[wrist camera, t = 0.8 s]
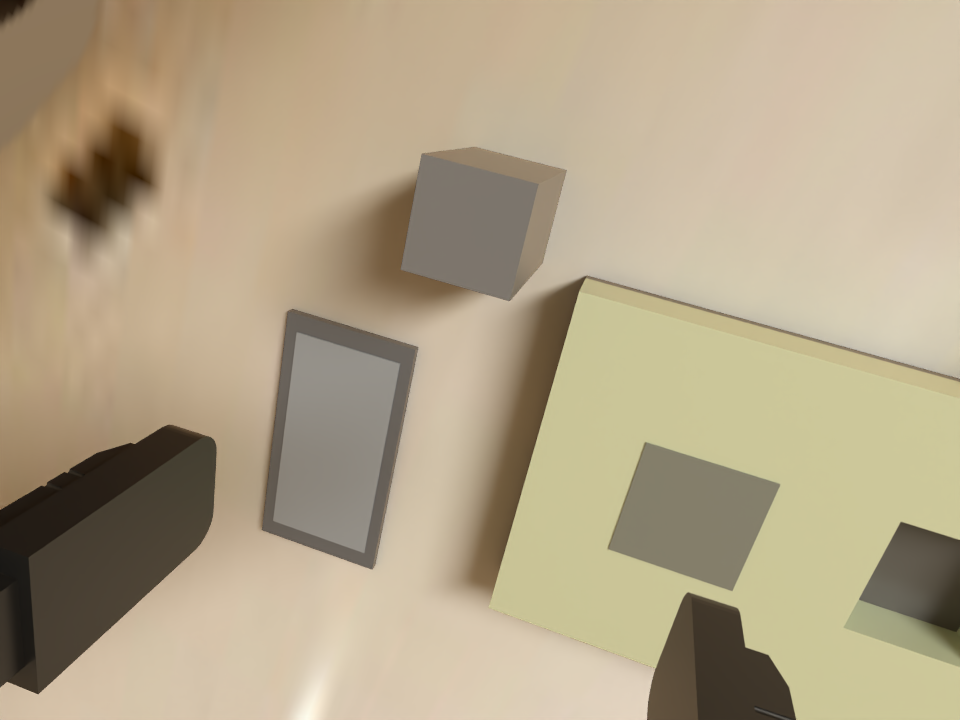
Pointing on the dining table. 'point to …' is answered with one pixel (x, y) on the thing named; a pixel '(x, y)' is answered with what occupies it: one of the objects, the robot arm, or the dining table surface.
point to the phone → (336, 436)
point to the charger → (481, 219)
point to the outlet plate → (747, 503)
